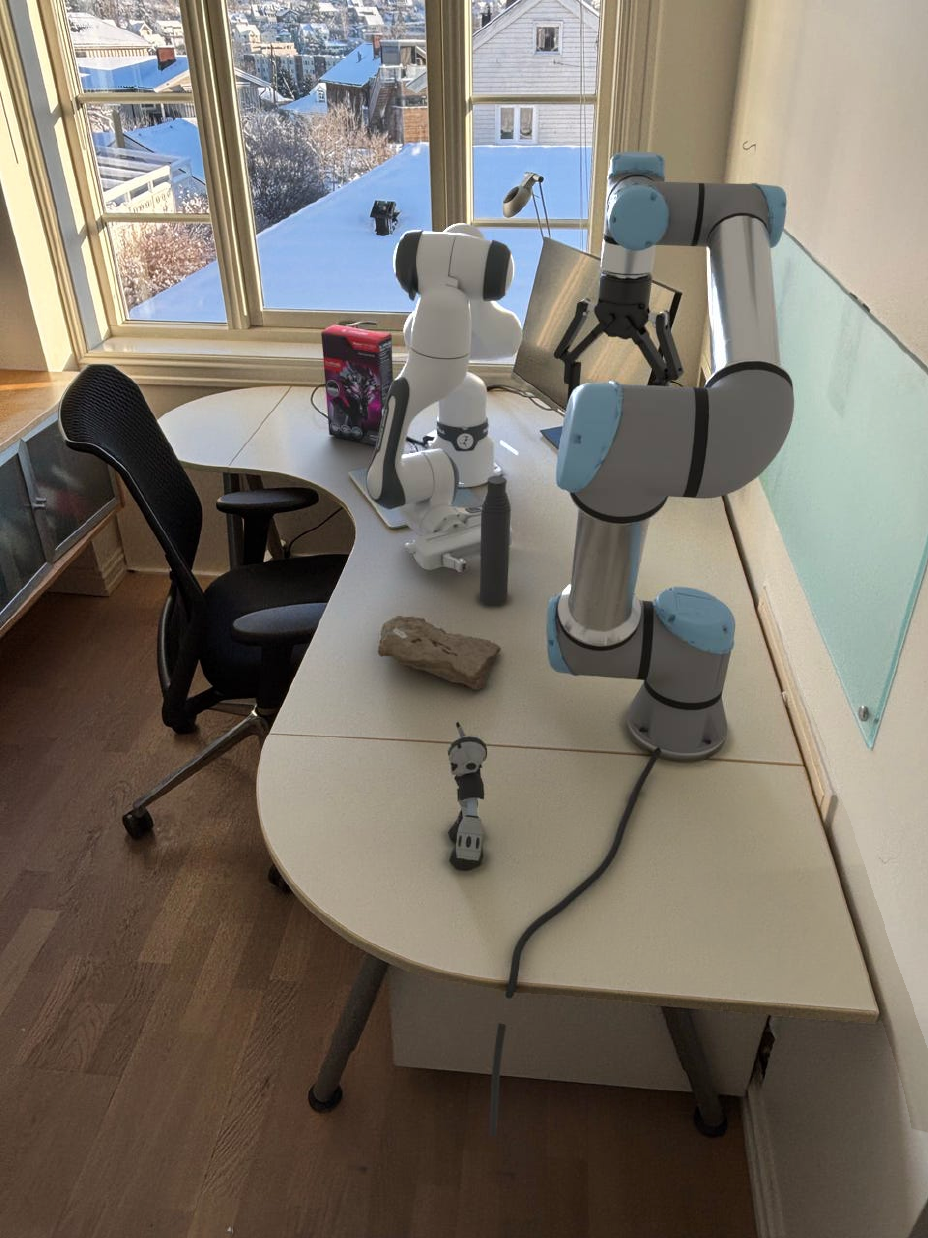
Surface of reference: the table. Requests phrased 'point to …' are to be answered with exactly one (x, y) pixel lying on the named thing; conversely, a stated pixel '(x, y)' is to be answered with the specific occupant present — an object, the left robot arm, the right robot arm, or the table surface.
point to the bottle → (495, 543)
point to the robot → (467, 799)
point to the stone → (438, 651)
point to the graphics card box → (356, 380)
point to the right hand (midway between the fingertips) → (612, 412)
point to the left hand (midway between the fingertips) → (484, 561)
